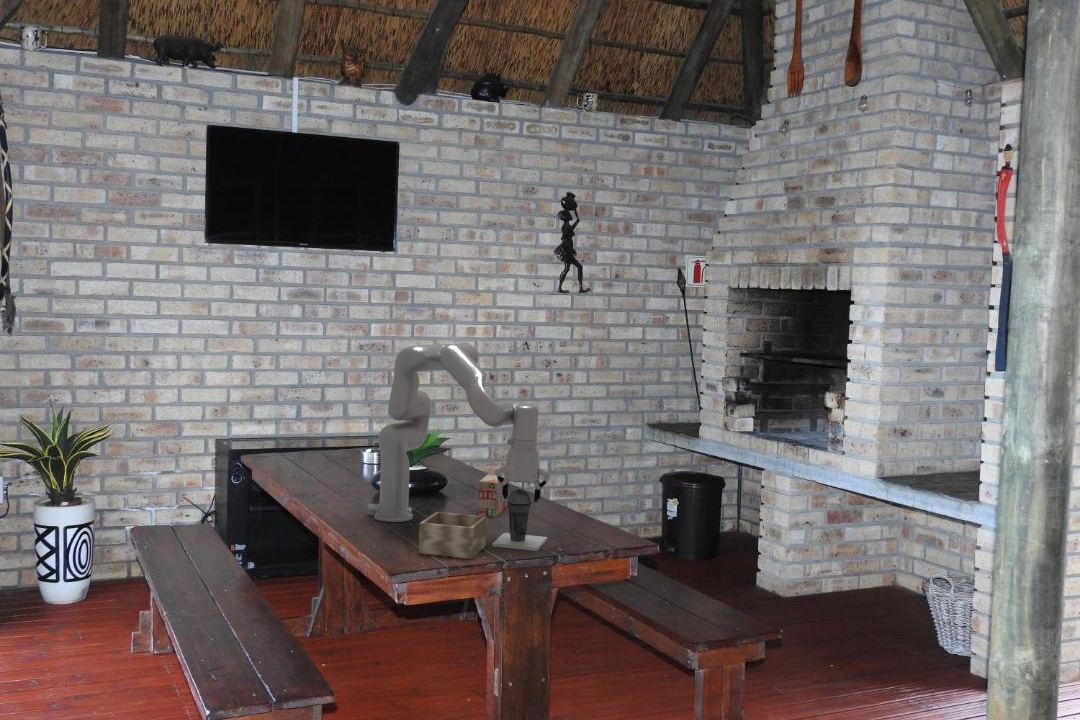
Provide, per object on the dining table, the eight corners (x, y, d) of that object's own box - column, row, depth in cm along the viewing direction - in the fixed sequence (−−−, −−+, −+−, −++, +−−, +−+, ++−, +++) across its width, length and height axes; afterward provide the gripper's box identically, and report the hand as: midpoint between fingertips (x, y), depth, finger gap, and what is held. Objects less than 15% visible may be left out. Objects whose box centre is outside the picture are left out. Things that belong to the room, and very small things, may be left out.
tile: (492, 546, 328) (492, 543, 327) (503, 535, 341) (503, 532, 341) (537, 551, 325) (537, 547, 324) (547, 540, 338) (547, 537, 338)
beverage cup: (505, 536, 336) (508, 473, 335) (528, 537, 337) (531, 473, 335) (506, 542, 329) (509, 477, 327) (530, 543, 330) (533, 478, 328)
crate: (418, 553, 316) (419, 523, 315) (435, 540, 331) (436, 511, 331) (471, 558, 312) (472, 528, 312) (485, 545, 328) (487, 516, 327)
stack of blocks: (491, 503, 389) (493, 469, 388) (508, 505, 388) (510, 471, 387) (477, 516, 368) (479, 480, 367) (495, 517, 367) (497, 481, 366)
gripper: (493, 443, 329) (490, 499, 330) (549, 449, 325) (545, 505, 327) (499, 440, 336) (496, 494, 337) (554, 445, 332) (550, 500, 334)
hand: (520, 499), depth 332 cm, fingers open, 9 cm apart
